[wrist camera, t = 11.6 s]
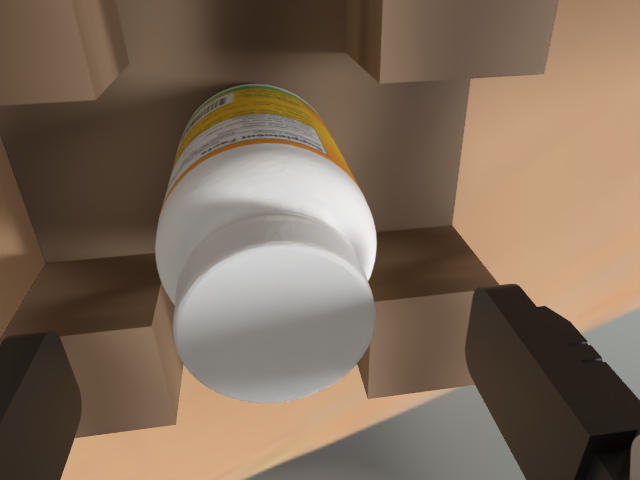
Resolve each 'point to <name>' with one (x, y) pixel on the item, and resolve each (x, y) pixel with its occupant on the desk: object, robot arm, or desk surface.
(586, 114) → the desk surface
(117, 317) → the cross slot block
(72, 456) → the desk surface
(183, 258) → the supplement bottle
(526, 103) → the desk surface
